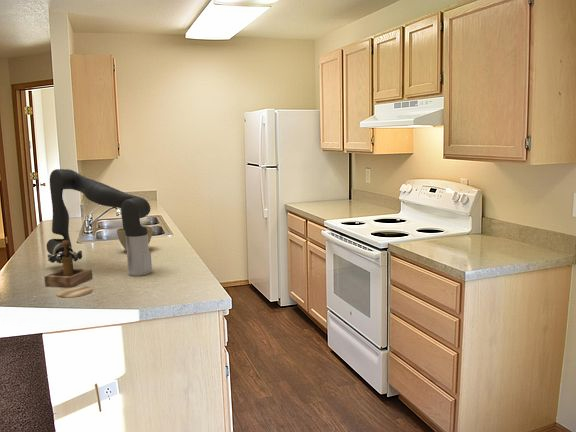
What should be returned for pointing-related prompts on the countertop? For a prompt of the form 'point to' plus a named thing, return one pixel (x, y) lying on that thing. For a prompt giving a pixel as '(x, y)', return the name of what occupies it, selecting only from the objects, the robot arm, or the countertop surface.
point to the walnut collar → (68, 278)
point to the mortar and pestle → (67, 260)
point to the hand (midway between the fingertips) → (68, 260)
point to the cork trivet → (74, 291)
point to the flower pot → (122, 235)
